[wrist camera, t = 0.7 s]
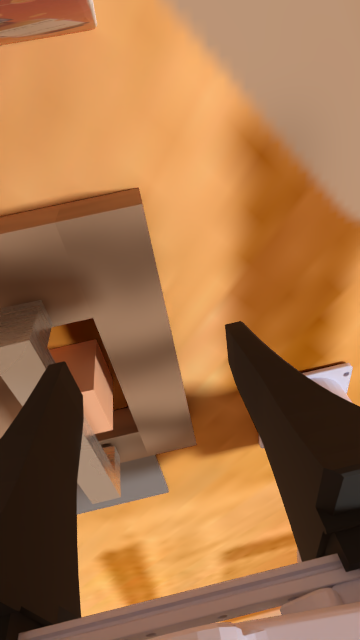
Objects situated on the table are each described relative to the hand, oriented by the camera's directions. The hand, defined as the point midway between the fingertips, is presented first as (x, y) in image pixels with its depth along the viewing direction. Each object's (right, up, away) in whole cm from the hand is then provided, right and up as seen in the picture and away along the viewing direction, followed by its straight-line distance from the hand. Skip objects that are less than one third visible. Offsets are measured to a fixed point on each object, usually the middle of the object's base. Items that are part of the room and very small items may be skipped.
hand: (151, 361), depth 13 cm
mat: (-6, -14, +20) cm, 25 cm away
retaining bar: (-6, -3, +9) cm, 11 cm away
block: (-6, -2, +11) cm, 13 cm away
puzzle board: (-8, -1, +10) cm, 13 cm away
